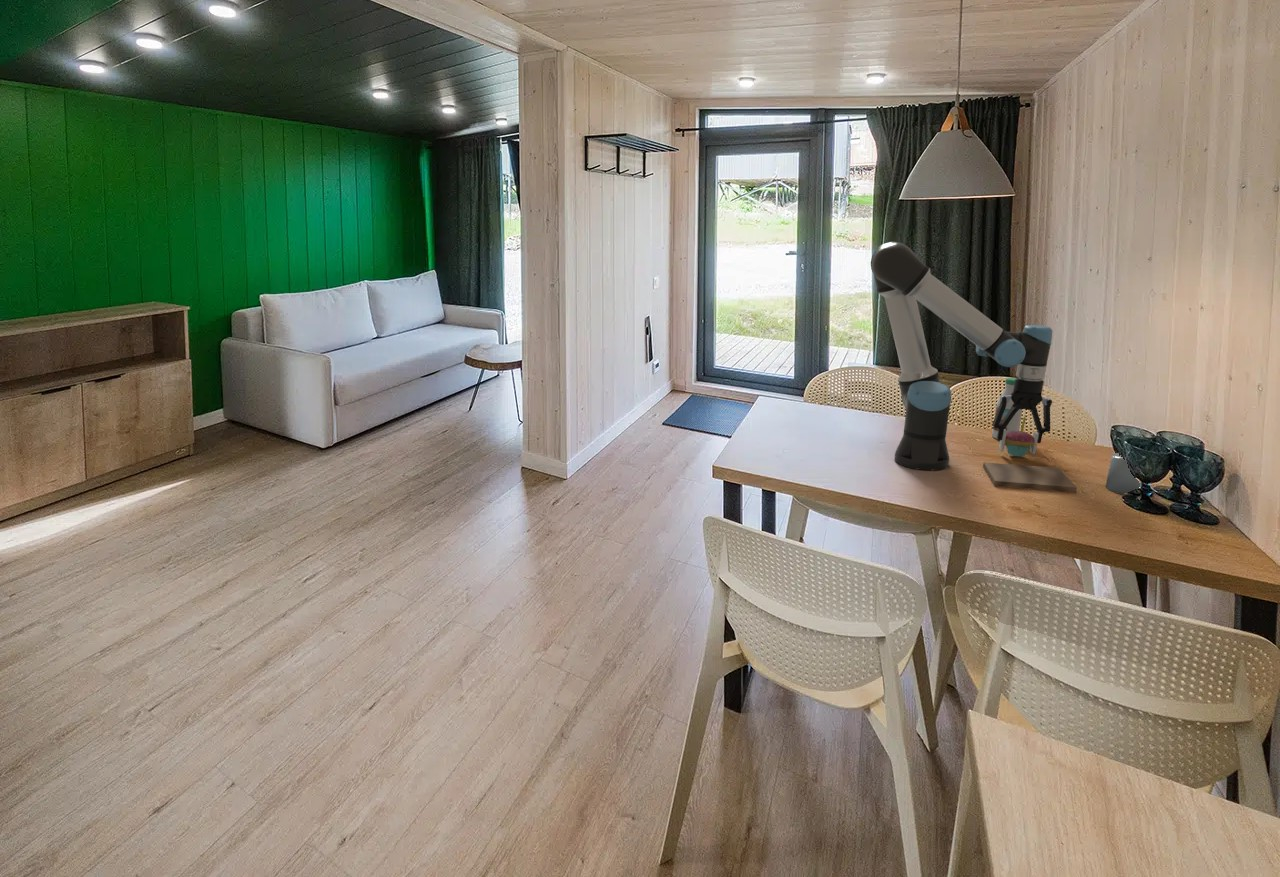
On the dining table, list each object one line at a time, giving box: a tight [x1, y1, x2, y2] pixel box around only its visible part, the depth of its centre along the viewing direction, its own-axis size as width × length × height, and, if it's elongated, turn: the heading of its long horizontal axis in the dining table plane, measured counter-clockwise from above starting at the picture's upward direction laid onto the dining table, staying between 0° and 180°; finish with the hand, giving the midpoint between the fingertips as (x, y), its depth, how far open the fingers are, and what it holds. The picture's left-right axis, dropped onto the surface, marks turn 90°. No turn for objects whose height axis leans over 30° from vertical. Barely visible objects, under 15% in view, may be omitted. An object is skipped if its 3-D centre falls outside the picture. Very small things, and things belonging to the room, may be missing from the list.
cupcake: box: [1004, 414, 1035, 457], centre depth 218 cm, size 9×8×12 cm
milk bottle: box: [991, 377, 1023, 440], centre depth 235 cm, size 8×8×20 cm
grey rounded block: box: [1105, 452, 1140, 495], centre depth 192 cm, size 8×8×9 cm
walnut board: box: [982, 461, 1078, 494], centre depth 200 cm, size 20×16×2 cm
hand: (1016, 451), depth 219 cm, fingers closed on cupcake, 8 cm apart
